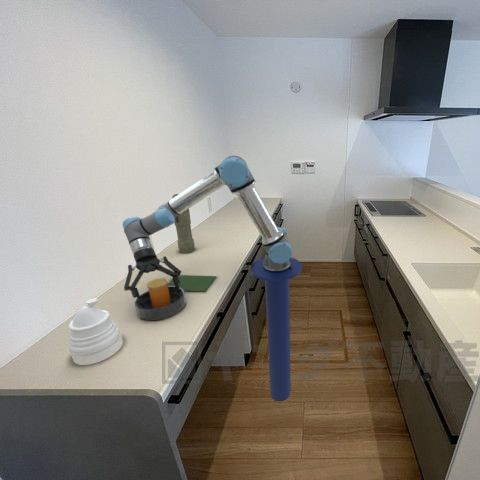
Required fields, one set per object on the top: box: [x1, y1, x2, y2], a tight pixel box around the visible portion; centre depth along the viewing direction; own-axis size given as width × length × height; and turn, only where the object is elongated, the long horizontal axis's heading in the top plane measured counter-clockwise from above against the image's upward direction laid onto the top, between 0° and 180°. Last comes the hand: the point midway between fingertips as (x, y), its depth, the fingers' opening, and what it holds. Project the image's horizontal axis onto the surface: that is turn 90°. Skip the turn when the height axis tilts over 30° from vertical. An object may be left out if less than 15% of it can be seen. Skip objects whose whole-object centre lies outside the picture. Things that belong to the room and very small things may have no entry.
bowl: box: [134, 286, 187, 321], centre depth 107 cm, size 17×17×6 cm
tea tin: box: [146, 278, 171, 309], centre depth 105 cm, size 7×7×11 cm
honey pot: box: [67, 297, 124, 366], centre depth 83 cm, size 13×13×18 cm
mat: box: [168, 274, 217, 293], centre depth 126 cm, size 20×14×1 cm
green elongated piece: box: [171, 193, 196, 255], centre depth 157 cm, size 9×12×35 cm
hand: (160, 297), depth 105 cm, fingers open, 13 cm apart
